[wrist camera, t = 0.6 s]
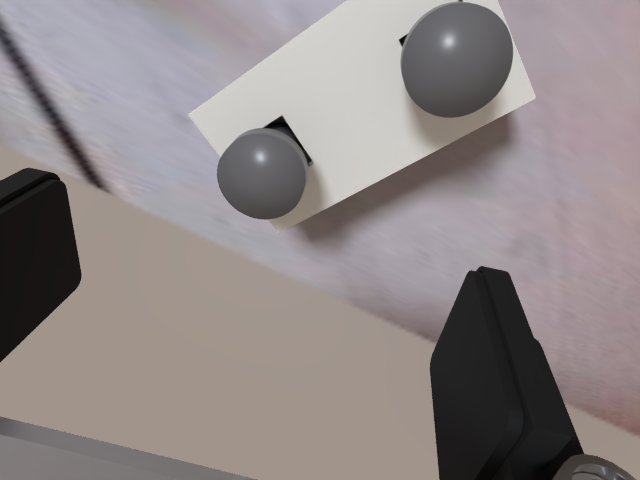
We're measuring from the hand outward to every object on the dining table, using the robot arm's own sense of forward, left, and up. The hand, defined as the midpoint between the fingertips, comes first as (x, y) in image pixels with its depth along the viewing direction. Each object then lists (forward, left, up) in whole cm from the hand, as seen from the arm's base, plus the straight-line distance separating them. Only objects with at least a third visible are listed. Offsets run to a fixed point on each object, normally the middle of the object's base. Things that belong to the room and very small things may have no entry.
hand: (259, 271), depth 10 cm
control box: (0, -2, -32) cm, 32 cm away
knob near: (+7, -2, -26) cm, 27 cm away
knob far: (-7, -2, -26) cm, 27 cm away
